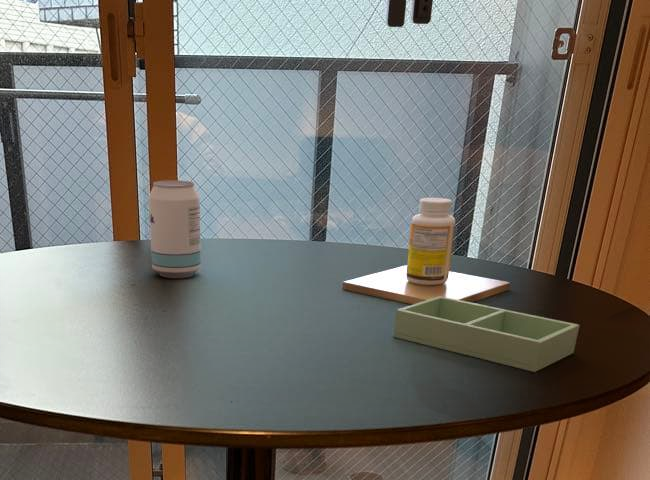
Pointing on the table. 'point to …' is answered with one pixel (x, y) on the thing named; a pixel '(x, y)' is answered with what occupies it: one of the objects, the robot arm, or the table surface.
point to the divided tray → (487, 332)
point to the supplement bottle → (431, 242)
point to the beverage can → (175, 228)
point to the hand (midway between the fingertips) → (406, 25)
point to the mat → (424, 287)
